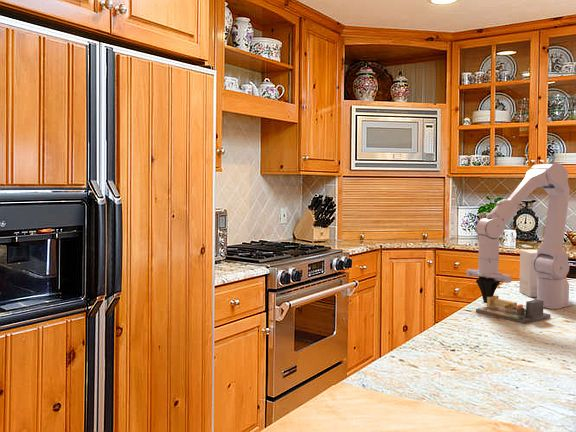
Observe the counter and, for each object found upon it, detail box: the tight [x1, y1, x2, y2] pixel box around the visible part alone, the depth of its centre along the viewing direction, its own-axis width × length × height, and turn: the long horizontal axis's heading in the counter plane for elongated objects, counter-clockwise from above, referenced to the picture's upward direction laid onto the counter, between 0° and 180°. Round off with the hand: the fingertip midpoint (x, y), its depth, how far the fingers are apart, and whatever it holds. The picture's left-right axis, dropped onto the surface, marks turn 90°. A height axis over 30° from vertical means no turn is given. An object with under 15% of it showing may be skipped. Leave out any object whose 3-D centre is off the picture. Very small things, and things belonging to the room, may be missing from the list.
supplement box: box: [518, 249, 552, 298], centre depth 187 cm, size 9×9×15 cm
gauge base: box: [475, 299, 551, 325], centre depth 159 cm, size 12×16×5 cm
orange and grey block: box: [517, 304, 525, 316], centre depth 153 cm, size 2×1×3 cm, turn 123°
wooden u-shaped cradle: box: [486, 294, 518, 309], centre depth 162 cm, size 6×8×3 cm
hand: (487, 302), depth 167 cm, fingers closed
